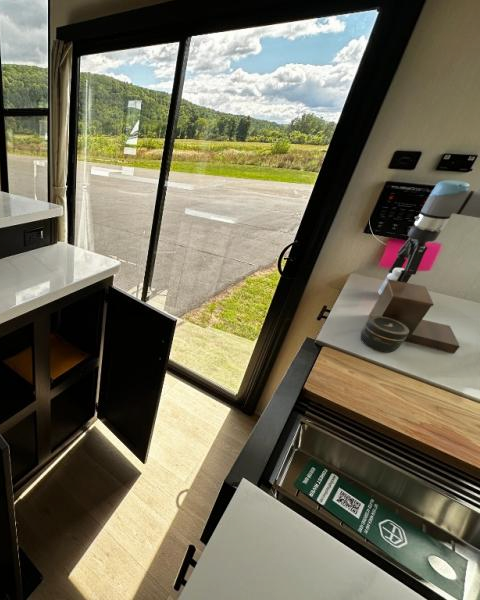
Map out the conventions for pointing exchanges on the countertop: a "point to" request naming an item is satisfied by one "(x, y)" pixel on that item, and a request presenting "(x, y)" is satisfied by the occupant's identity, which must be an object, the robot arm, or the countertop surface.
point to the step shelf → (414, 315)
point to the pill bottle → (391, 278)
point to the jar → (384, 333)
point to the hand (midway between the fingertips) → (395, 280)
